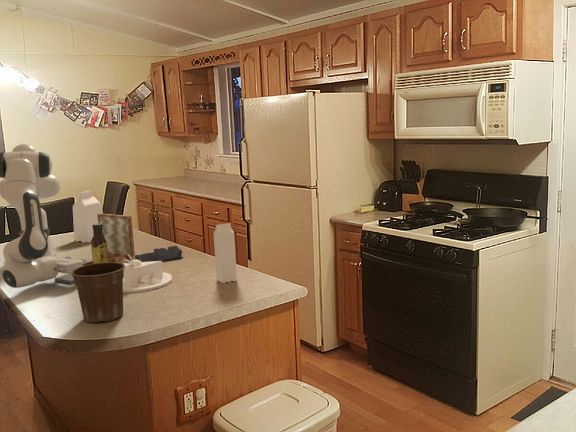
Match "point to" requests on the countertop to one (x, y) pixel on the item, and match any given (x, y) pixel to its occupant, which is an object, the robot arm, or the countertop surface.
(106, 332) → the countertop surface
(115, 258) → the brown rounded block
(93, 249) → the sauce bottle
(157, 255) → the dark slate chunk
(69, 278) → the slate tile
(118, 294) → the plant pot
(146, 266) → the dish
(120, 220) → the cedar box
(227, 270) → the milk
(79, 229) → the milk
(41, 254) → the robot arm
